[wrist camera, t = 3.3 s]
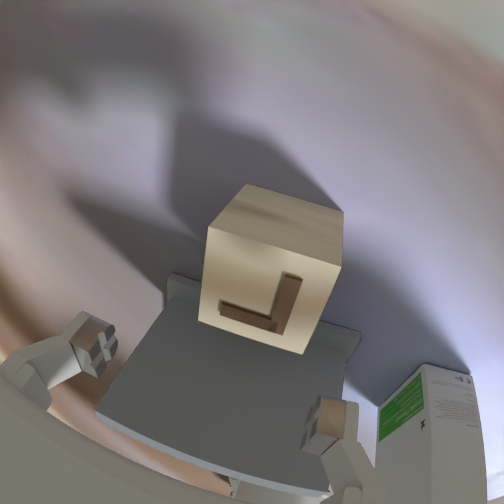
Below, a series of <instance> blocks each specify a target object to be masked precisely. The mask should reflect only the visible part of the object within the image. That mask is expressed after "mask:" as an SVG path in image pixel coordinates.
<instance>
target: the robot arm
mask: <svg viewBox="0 0 504 504" xmlns="http://www.w3.org/2000/svg"><path fill="white" fill-rule="evenodd" d="M114 332H115V328H114V325H111V324H109V323H107V322H105V321H103V320H101V319H98V318H96V317H94V316H93V315H90V314H88V313H86V312H84V311H82V312H80V313H79V314H78V315H77V316H76V317H75V318H74V319H73V321H72V322H71V323H70V324H69V325H68V326H67V327H66V329H65V330H64V331H63V332H62V333H61V334H60V335H59V336H57V335H55V336H53V337H50V338H47V339H45V340H42V341H39V342H37V343H34V344H31V345H28V346H26V347H23V348H20V349H18V350H15V351H12V353H11V354H10V355H9V356H8V357H7V358H6V360H5V361H4V362H3V363H2V364H1V366H0V504H384V496H385V488H384V486H383V484H382V482H381V480H380V479H379V477H378V475H377V473H376V471H375V469H374V467H373V465H372V464H371V462H370V460H369V458H368V456H367V454H366V452H365V450H364V449H363V447H362V445H361V443H360V442H357V432H358V418H359V404H358V403H356V402H351V401H346V400H343V399H338V398H333V397H328V396H323V395H319V396H318V397H317V399H316V403H315V404H313V405H312V406H311V408H310V409H309V412H308V414H307V418H306V421H305V428H306V430H307V431H306V433H305V434H304V435H303V436H302V442H301V447H300V451H301V452H305V453H310V454H314V455H319V456H320V458H321V461H322V463H323V466H324V469H325V471H326V474H327V477H328V479H329V482H330V485H331V487H332V490H333V493H334V495H332V496H330V495H331V493H330V492H328V493H326V494H324V495H322V496H320V497H318V498H315V497H309V496H304V495H299V494H294V493H289V492H284V491H280V490H275V489H271V488H267V487H263V486H259V485H256V484H252V483H248V482H245V481H241V480H238V479H235V478H231V477H229V481H230V485H231V489H232V492H231V497H232V498H231V497H227V496H224V495H220V494H217V493H214V492H211V491H208V490H205V489H202V488H199V487H196V486H193V485H190V484H187V483H185V482H182V481H179V480H177V479H174V478H171V477H169V476H166V475H164V474H161V473H159V472H157V471H154V470H152V469H150V468H147V467H145V466H143V465H141V464H139V463H136V462H134V461H132V460H130V459H128V458H126V457H124V456H122V455H120V454H118V453H116V452H114V451H112V450H110V449H108V448H106V447H104V446H103V445H101V444H99V443H97V442H95V441H93V440H92V439H90V438H88V437H86V436H85V435H83V434H81V433H80V432H78V431H76V430H75V429H73V428H71V427H70V426H68V425H67V424H65V423H64V422H62V421H60V420H59V419H57V418H56V417H54V416H53V415H51V414H50V413H48V412H47V409H48V408H49V406H50V405H51V403H52V402H53V398H52V396H51V395H50V393H49V392H48V390H47V389H49V388H51V387H53V386H55V385H57V384H59V383H61V382H63V381H64V380H66V379H68V378H70V377H72V376H74V375H76V374H77V373H79V372H81V371H82V370H83V371H84V372H86V373H88V374H90V375H92V376H94V377H96V378H99V376H100V375H101V373H102V372H103V370H104V369H105V368H106V361H108V360H110V359H112V357H113V356H114V354H115V352H116V350H117V346H118V341H117V338H116V336H115V335H114Z"/></svg>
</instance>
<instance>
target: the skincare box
mask: <svg viewBox="0 0 504 504" xmlns="http://www.w3.org/2000/svg"><path fill="white" fill-rule="evenodd" d="M375 471H376V473H377V475H378V477H379V479H380V480H381V482H382V484H383V486H384V488H385V496H384V504H487V478H486V464H485V453H484V443H483V435H482V428H481V421H480V415H479V409H478V403H477V397H476V392H475V387H474V382H473V378H472V376H470V375H467V374H464V373H460V372H456V371H453V370H449V369H445V368H441V367H437V366H433V365H429V364H422V365H421V366H420V367H419V368H418V369H417V370H416V372H415V373H414V374H413V375H412V376H411V377H409V378H408V379H407V380H406V381H405V382H404V383H403V384H402V386H400V387H399V388H398V389H397V390H396V391H395V392H394V393H393V394H392V395H391V396H390V397H389V398H388V399H387V400H386V401H385V402H384V403H382V404H381V405H380V406H379V407H378V418H377V441H376V457H375Z"/></svg>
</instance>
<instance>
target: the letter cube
mask: <svg viewBox="0 0 504 504" xmlns="http://www.w3.org/2000/svg"><path fill="white" fill-rule="evenodd" d="M343 218H344V212H341V211H338V210H335V209H332V208H329V207H325V206H322V205H319V204H316V203H312V202H309V201H306V200H302V199H299V198H296V197H292V196H289V195H285V194H282V193H278V192H275V191H271V190H268V189H264V188H260V187H257V186H253V185H249V184H245V186H244V187H243V188H242V189H241V190H240V191H239V192H238V193H237V194H236V196H235V197H234V198H233V199H232V200H231V201H230V202H229V204H228V205H227V206H226V207H225V208H224V209H223V210H222V211H221V213H220V214H219V215H218V216H217V217H216V218H215V220H214V221H213V222H212V223H211V224H210V225H209V226H208V234H207V242H206V251H205V259H204V268H203V277H202V286H201V296H200V306H199V316H198V321H201V322H204V323H206V324H209V325H212V326H215V327H218V328H221V329H223V330H226V331H229V332H232V333H235V334H238V335H241V336H244V337H247V338H250V339H253V340H256V341H259V342H263V343H266V344H269V345H272V346H275V347H279V348H282V349H285V350H288V351H292V352H295V353H298V354H303V352H304V350H305V348H306V346H307V344H308V342H309V340H310V338H311V336H312V333H313V331H314V329H315V327H316V325H317V323H318V321H319V318H320V316H321V314H322V312H323V309H324V307H325V305H326V303H327V300H328V298H329V296H330V294H331V291H332V289H333V287H334V284H335V282H336V280H337V277H338V275H339V272H340V270H341V268H342V250H343Z"/></svg>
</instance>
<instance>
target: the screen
mask: <svg viewBox="0 0 504 504" xmlns="http://www.w3.org/2000/svg"><path fill="white" fill-rule="evenodd" d="M201 286H202V283H201V282H198V281H195V280H192V279H190V278H187V277H184V276H181V275H178V274H175V273H171V274H170V275H169V276H168V278H167V305H166V306H165V308H164V309H163V311H162V312H161V313H160V315H159V316H158V318H157V319H156V320H155V322H154V323H153V324H152V326H151V327H150V329H149V330H148V332H147V333H146V334H145V336H144V337H143V339H142V340H141V341H140V343H139V344H138V346H137V347H136V349H135V350H134V351H133V353H132V354H131V356H130V357H129V359H128V360H127V361H126V363H125V364H124V366H123V367H122V369H121V370H120V372H119V373H118V375H117V376H116V377H115V379H114V380H113V382H112V383H111V385H110V386H109V388H108V389H107V391H106V392H105V394H104V395H103V397H102V398H101V400H100V401H99V403H98V404H97V406H96V407H95V409H94V411H95V413H96V415H97V417H98V419H99V421H101V422H103V423H105V424H106V425H108V426H110V427H112V428H114V429H116V430H118V431H120V432H121V433H123V434H125V435H127V436H129V437H131V438H133V439H135V440H137V441H140V442H142V443H144V444H146V445H148V446H150V447H152V448H155V449H157V450H159V451H161V452H164V453H166V454H168V455H171V456H173V457H176V458H178V459H181V460H183V461H186V462H188V463H191V464H193V465H196V466H199V467H202V468H204V469H207V470H210V471H213V472H216V473H219V474H222V475H225V476H228V477H231V478H235V479H238V480H241V481H245V482H248V483H252V484H256V485H259V486H263V487H267V488H271V489H275V490H280V491H284V492H289V493H294V494H299V495H304V496H309V497H315V498H318V497H320V496H322V495H324V494H326V493H328V488H329V483H330V482H329V479H328V477H327V474H326V471H325V469H324V466H323V463H322V461H321V458H320V456H319V455H314V454H310V453H305V452H301V451H300V447H301V442H302V436H303V435H304V434H305V433H306V431H307V430H306V428H305V421H306V418H307V414H308V412H309V409H310V408H311V406H312V405H313V404H315V403H316V399H317V397H318V396H319V395H323V396H328V397H333V398H338V399H342V391H343V381H344V371H345V364H346V363H347V361H348V360H349V358H350V356H351V355H352V353H353V352H354V350H355V349H356V347H357V345H358V344H359V342H360V341H361V332H358V331H354V330H351V329H347V328H344V327H340V326H337V325H334V324H330V323H327V322H323V321H320V320H319V321H318V323H317V325H316V327H315V329H314V331H313V333H312V336H311V338H310V340H309V342H308V344H307V346H306V348H305V350H304V352H303V354H298V353H295V352H292V351H288V350H285V349H282V348H279V347H275V346H272V345H269V344H266V343H263V342H259V341H256V340H253V339H250V338H247V337H244V336H241V335H238V334H235V333H232V332H229V331H226V330H223V329H221V328H218V327H215V326H212V325H209V324H206V323H204V322H201V321H198V316H199V306H200V296H201Z"/></svg>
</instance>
